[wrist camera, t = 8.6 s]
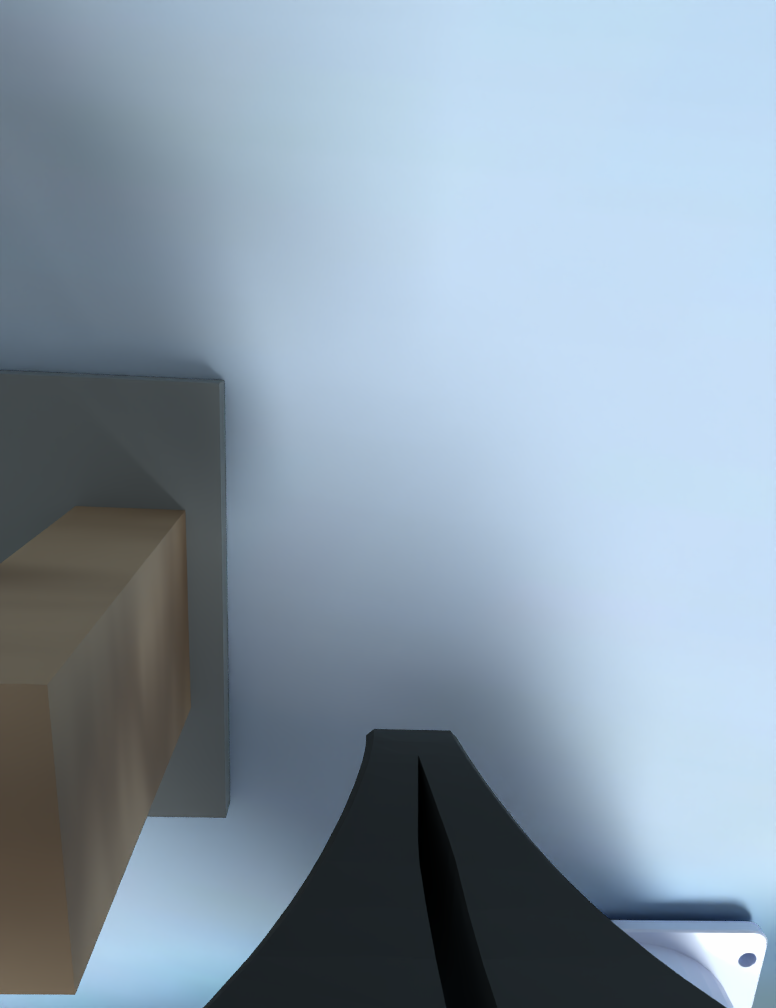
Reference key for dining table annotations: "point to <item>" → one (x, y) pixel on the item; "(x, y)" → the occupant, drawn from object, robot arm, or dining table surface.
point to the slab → (83, 725)
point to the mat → (146, 485)
